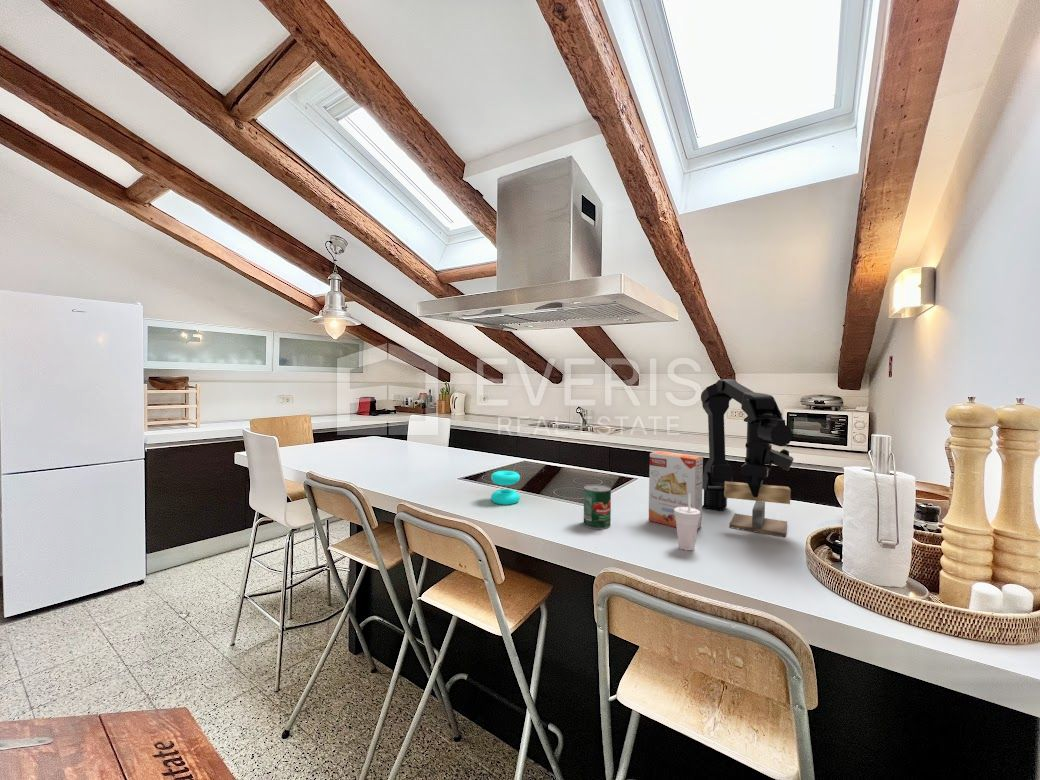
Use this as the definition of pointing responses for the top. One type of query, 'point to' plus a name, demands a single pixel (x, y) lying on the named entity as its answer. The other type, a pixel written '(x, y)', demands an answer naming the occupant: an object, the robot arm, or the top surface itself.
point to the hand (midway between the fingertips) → (756, 495)
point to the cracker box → (674, 485)
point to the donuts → (505, 495)
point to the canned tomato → (597, 506)
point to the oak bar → (765, 493)
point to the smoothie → (687, 525)
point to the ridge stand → (759, 522)
